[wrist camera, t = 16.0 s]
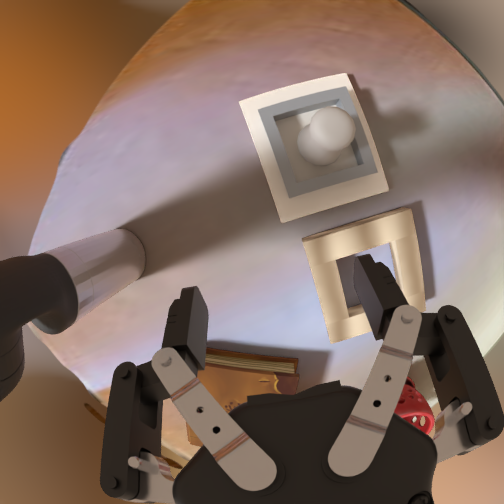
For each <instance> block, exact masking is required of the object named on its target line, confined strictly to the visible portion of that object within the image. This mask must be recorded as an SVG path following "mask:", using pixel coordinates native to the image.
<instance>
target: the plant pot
mask: <svg viewBox="0 0 504 504" xmlns="http://www.w3.org/2000/svg"><path fill="white" fill-rule="evenodd" d="M394 413H396V414H397V415H399V416H400V417H402V418H403V419H405V420H406V421H408V422H409V423H411V424H412V425H414V426H415V427H417V428H418V429H420V430H421V431H423V432H424V433H426V434H427V435H428V434H429V433H430V431H431V430H432V428H433V426H434V422H435V421H434V420H435V419H434V415H433V413H432V410H431V408H430V406H429V404H428V403H427V401H426V400H425V398H424V397H423V396H422V395H421V394H420V393H419V392H418V391H417V390H416V389H415V384H414V382H413V381H412V379H410V378H409V377H407V378H406V381H405V384H404V387H403V390H402V392H401V395H400V398H399V400H398V403H397V405H396V408H395V410H394ZM415 416H416V418H417V420H416V422H415V423H413V421H412V420H413V418H414V417H415ZM422 416H424V417H425V420H426V421H425V424H424V426H421V425H420V420H421V417H422Z"/></svg>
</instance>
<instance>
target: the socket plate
mask: <svg viewBox="0 0 504 504" xmlns="http://www.w3.org/2000/svg"><path fill="white" fill-rule="evenodd" d="M239 104H240V106H241V109H242V112H243V114H244V117H245V120H246V123H247V125H248V128H249V131H250V133H251V136H252V139H253V142H254V145H255V147H256V150H257V153H258V156H259V159H260V161H261V164H262V167H263V170H264V173H265V176H266V179H267V182H268V185H269V187H270V190H271V193H272V196H273V199H274V202H275V205H276V208H277V211H278V214H279V217H280V221H281V223H284V222H288V221H291V220H294V219H297V218H301V217H304V216H307V215H310V214H313V213H317V212H320V211H323V210H327V209H330V208H333V207H336V206H340V205H343V204H346V203H350V202H353V201H356V200H360V199H363V198H366V197H370V196H373V195H377V194H380V193H383V192H387V191H389V188H388V185H387V181H386V177H385V174H384V171H383V167H382V164H381V161H380V158H379V155H378V152H377V149H376V146H375V143H374V140H373V137H372V134H371V131H370V129H369V126H368V123H367V121H366V118H365V116H364V113H363V111H362V108H361V106H360V103H359V101H358V98H357V96H356V94H355V91H354V89H353V87H352V85H351V82H350V80H349V78H348V76H347V74H346V73H343V74H337V75H332V76H328V77H323V78H319V79H314V80H310V81H306V82H302V83H298V84H294V85H290V86H287V87H283V88H280V89H276V90H273V91H270V92H266V93H263V94H260V95H257V96H254V97H251V98H248V99H245V100H242V101H239ZM327 106H333V107H339V108H341V109H343V110H345V111H347V112H348V114H349V115H350V116H351V117H352V119H353V121H354V124H355V127H356V130H355V136H354V139H353V141H352V142H351V143H350V144H349V146H348V147H346V148H344V149H342V152H341V155H340V156H339V158H338V159H337V160H336V161H335V162H334V163H331V164H329V165H327V166H315V165H313V164H311V163H309V162H307V161H306V160H305V159H304V158H303V156H302V155H301V154H300V153H299V149H298V145H297V140H298V135H299V133H300V131H301V130H302V129H303V128H304V127H305V126H306V125H308V124H310V122H311V118H312V116H313V115H314V114H315V113H316V112H317V111H318V110H320V109H322V108H325V107H327Z"/></svg>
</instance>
